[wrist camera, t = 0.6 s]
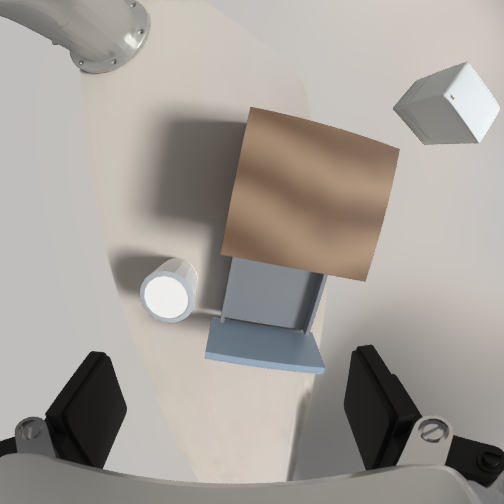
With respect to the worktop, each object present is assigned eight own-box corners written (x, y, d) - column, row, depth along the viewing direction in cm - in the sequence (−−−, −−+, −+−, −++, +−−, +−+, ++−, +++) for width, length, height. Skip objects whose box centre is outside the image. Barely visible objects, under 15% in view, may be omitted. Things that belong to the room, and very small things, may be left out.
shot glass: (212, 277, 42) (206, 299, 35) (180, 308, 43) (170, 333, 37) (175, 243, 41) (162, 259, 34) (144, 276, 42) (128, 297, 35)
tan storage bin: (248, 123, 36) (250, 106, 25) (359, 151, 38) (399, 149, 27) (226, 228, 40) (220, 254, 29) (335, 250, 41) (365, 281, 30)
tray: (228, 226, 39) (224, 243, 30) (337, 248, 40) (360, 270, 32) (211, 322, 43) (204, 358, 34) (310, 338, 44) (322, 374, 35)
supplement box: (423, 146, 37) (479, 146, 25) (390, 108, 36) (441, 93, 24) (447, 116, 36) (502, 109, 24) (416, 78, 34) (468, 59, 22)
